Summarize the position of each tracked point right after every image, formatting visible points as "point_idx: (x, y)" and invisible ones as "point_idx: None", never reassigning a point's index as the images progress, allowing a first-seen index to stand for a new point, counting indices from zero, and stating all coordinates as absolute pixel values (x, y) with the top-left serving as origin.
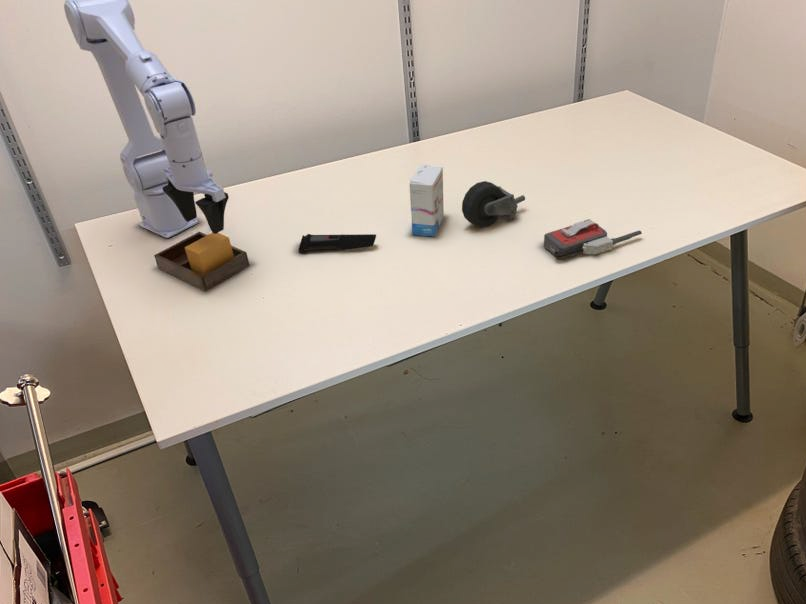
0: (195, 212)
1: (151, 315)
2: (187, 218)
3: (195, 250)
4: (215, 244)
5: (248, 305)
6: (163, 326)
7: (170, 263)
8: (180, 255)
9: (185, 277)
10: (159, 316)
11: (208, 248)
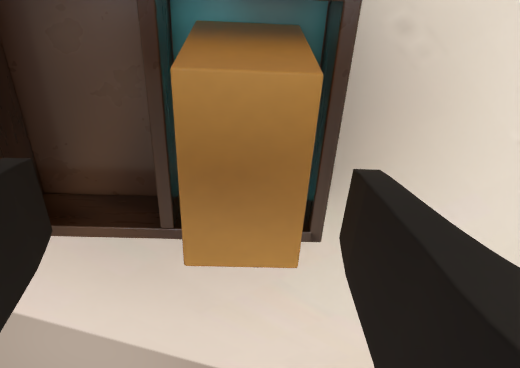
0: (8, 184)
1: (262, 329)
2: (38, 245)
3: (260, 259)
4: (309, 175)
5: (508, 183)
6: (328, 338)
7: (125, 237)
8: (19, 110)
9: None
10: (284, 323)
11: (303, 217)
